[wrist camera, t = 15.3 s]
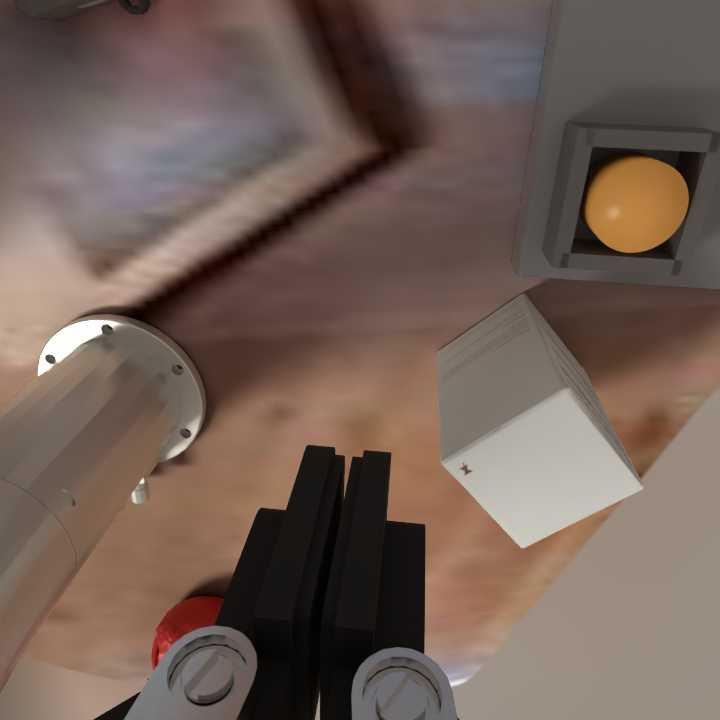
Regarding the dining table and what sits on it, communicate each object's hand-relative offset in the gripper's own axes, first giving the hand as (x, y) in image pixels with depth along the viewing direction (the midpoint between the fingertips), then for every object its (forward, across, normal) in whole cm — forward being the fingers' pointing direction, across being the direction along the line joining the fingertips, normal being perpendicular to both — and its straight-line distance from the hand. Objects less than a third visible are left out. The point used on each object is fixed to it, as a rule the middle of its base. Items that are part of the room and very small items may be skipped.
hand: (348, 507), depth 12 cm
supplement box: (+27, -8, +10) cm, 30 cm away
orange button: (+24, -11, -2) cm, 26 cm away
